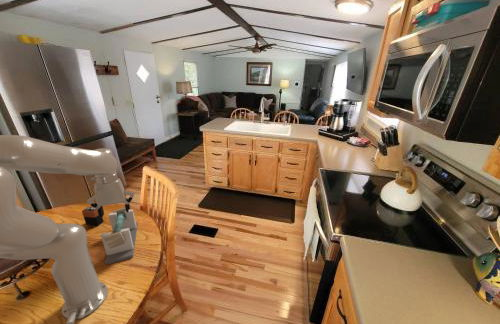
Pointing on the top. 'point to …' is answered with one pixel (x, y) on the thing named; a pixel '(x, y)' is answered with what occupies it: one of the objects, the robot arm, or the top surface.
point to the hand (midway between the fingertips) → (115, 213)
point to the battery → (92, 216)
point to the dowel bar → (117, 230)
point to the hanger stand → (129, 235)
